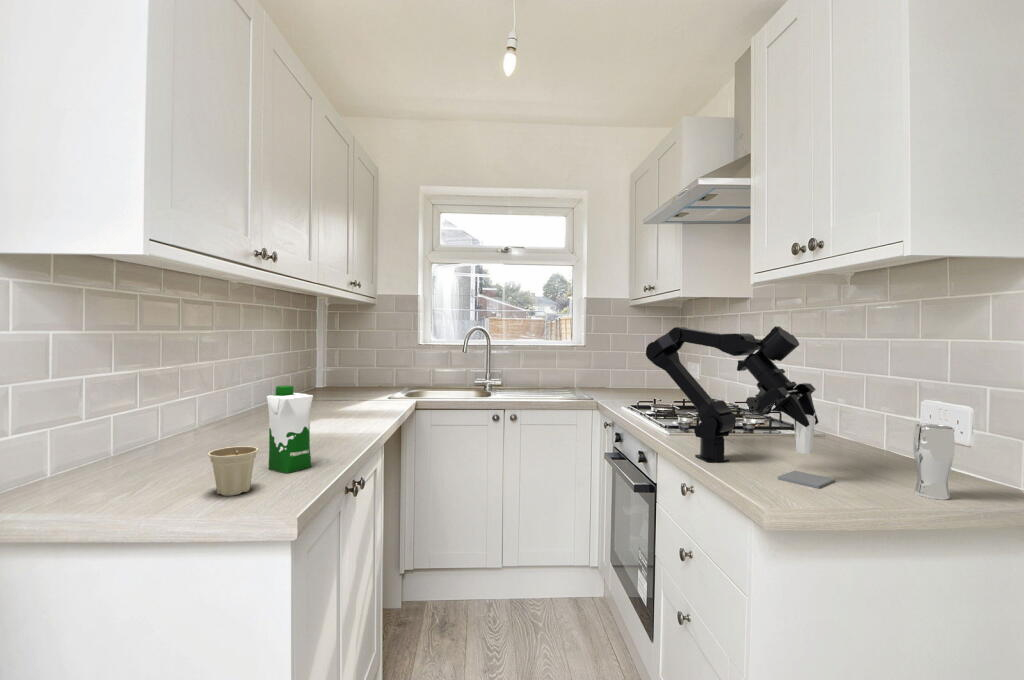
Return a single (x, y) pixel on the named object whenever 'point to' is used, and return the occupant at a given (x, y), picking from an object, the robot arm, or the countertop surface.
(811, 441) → the milkshake
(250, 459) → the flower pot
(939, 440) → the beer glass
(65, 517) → the countertop surface
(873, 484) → the countertop surface
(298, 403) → the milk carton
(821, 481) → the coaster
